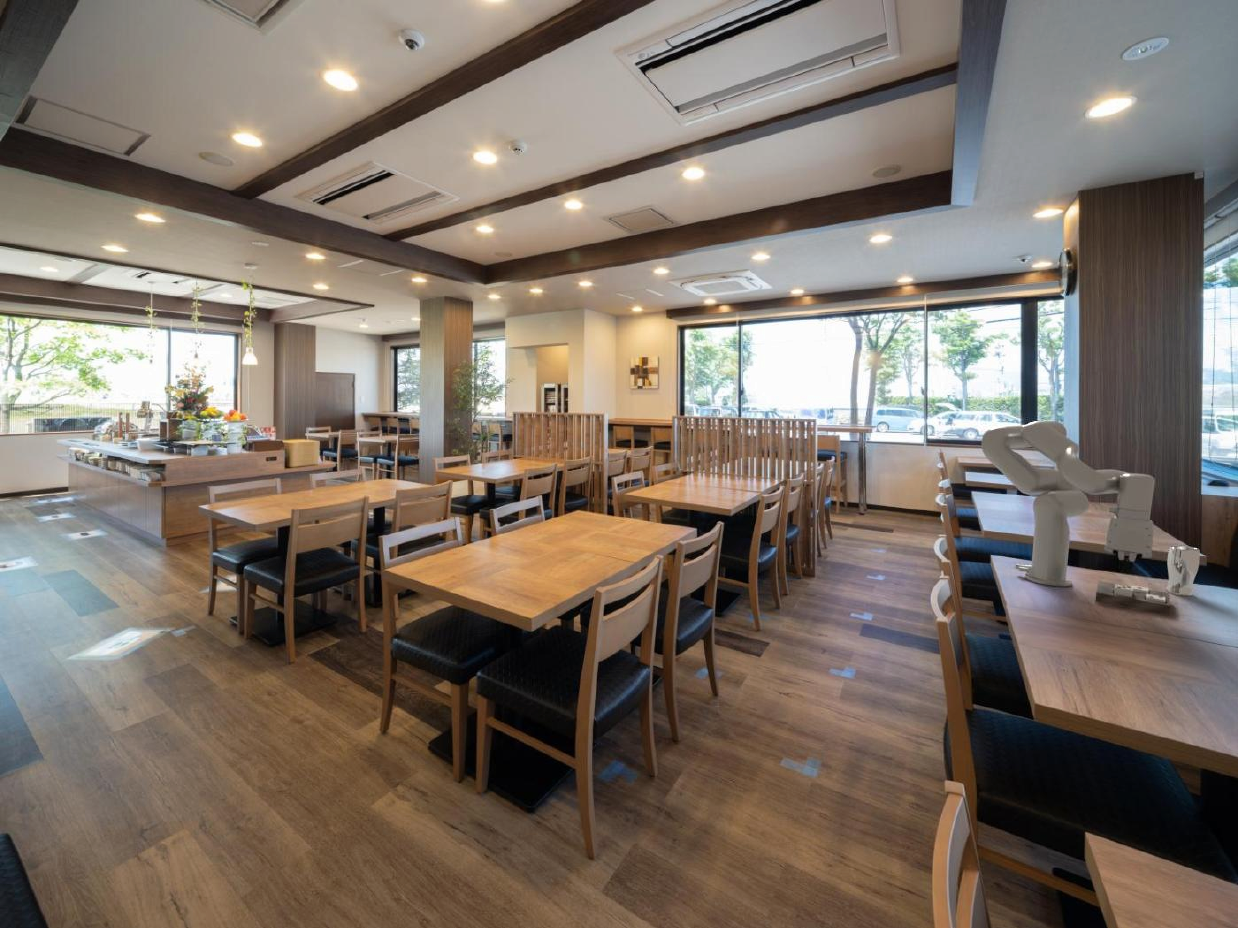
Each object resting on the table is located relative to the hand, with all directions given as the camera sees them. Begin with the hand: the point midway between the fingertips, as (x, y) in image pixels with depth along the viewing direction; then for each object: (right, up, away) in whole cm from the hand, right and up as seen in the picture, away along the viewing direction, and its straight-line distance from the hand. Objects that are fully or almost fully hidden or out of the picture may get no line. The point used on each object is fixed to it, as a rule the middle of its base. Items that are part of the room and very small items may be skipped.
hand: (1124, 572), depth 162 cm
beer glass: (+26, -9, +9) cm, 29 cm away
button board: (+4, -10, +2) cm, 10 cm away
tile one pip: (+7, -9, +3) cm, 12 cm away
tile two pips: (+5, -9, -4) cm, 11 cm away
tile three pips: (0, -8, +1) cm, 8 cm away
